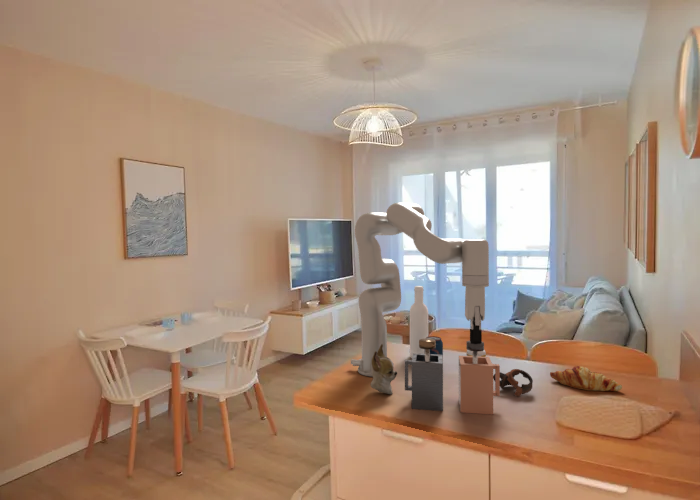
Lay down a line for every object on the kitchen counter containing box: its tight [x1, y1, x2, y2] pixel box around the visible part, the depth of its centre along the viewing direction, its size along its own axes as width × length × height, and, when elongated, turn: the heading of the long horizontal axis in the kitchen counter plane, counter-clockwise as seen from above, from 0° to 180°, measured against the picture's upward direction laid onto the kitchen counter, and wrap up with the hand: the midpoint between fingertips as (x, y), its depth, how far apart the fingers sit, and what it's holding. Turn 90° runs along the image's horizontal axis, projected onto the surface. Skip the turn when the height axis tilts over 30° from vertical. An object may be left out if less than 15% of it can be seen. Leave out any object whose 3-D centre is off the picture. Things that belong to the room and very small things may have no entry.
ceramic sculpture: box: [370, 344, 398, 395], centre depth 134 cm, size 11×9×15 cm
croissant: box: [549, 365, 623, 392], centre depth 139 cm, size 21×10×8 cm, turn 59°
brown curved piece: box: [493, 368, 534, 398], centre depth 135 cm, size 12×9×8 cm
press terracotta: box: [458, 355, 501, 415], centre depth 123 cm, size 11×9×14 cm
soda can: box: [426, 335, 444, 360], centre depth 159 cm, size 7×7×12 cm
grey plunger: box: [465, 340, 485, 364], centre depth 123 cm, size 6×6×18 cm
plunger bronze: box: [419, 339, 436, 362], centre depth 126 cm, size 6×6×18 cm
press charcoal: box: [404, 354, 444, 412], centre depth 126 cm, size 11×9×14 cm
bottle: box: [409, 285, 429, 359], centre depth 174 cm, size 8×8×30 cm
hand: (475, 342), depth 122 cm, fingers closed
